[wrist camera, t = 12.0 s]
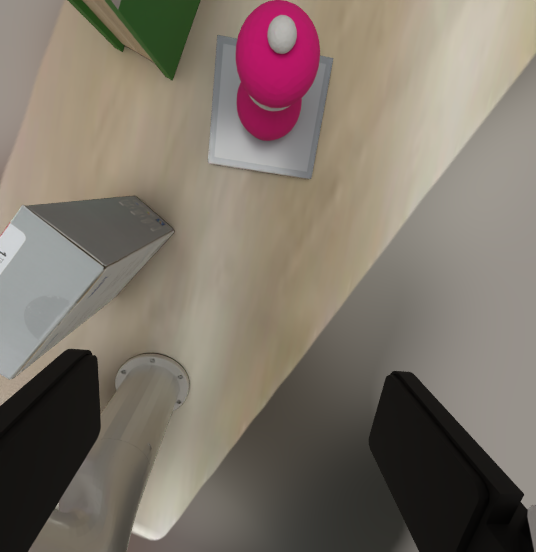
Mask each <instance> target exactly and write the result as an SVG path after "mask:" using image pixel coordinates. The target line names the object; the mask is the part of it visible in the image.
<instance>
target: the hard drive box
mask: <svg viewBox="0 0 536 552" xmlns="http://www.w3.org/2000/svg"><path fill="white" fill-rule="evenodd" d="M173 233H174V231H173V228H172V227H170V226H169V225H168V224H167V223H166V222H165V221H164V220H163V219H161V218H160V217H159V216H158V215H157V214H156V213H154V212H153V211H152V210H151V209H150V208H149V207H148V206H146V205H145V204H144V203H143V202H142V201H140V200H139V199H138V198H137V197H136V196H125V197H114V198H104V199H93V200H83V201H72V202H62V203H51V204H39V205H29V206H25V205H22V206H21V208H20V209H19V211H18V212H17V214H16V215H15V216H14V218H13V219H12V221H11V222H10V223H9V224H8V226H7V227H6V229H5V230H4V231H3V233H2V234H1V236H0V374H1V375H3V376H4V377H6V378H8V379H13V378H15V377H16V376H17V375H18V374H20V373H21V372H22V371H23V370H25V369H26V368H27V367H28V366H30V365H31V364H32V363H33V362H35V361H36V360H37V359H38V358H39V357H41V356H42V355H43V354H44V353H46V352H47V351H48V350H50V349H51V348H52V347H53V346H55V345H56V344H57V343H58V342H60V341H61V340H62V339H63V338H65V337H66V336H67V335H68V334H70V333H71V332H72V331H73V330H75V329H76V328H77V327H78V326H80V325H81V324H82V323H84V322H85V321H86V320H87V319H89V318H90V317H91V316H92V315H94V314H95V313H96V312H97V311H99V310H100V309H101V308H102V307H104V306H105V305H106V304H107V303H109V302H110V301H111V300H112V299H113V298H115V297H116V296H117V294H118V293H119V292H120V291H121V290H122V289H123V288H124V287H125V286H126V285H127V283H128V282H129V281H130V280H131V279H132V278H133V277H134V276H135V275H136V273H137V272H138V271H139V270H140V269H141V268H142V267H143V266H144V265H145V264H146V263H147V261H148V260H149V259H150V258H151V257H152V256H153V255H154V254H155V253H156V252H157V251H158V250H159V248H160V247H161V246H162V245H163V244H164V243H165V242H166V241H167V240H168V238H169V237H170V236H171V235H172V234H173Z"/></svg>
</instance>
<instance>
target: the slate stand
mask: <svg viewBox="0 0 536 552" xmlns="http://www.w3.org/2000/svg"><path fill="white" fill-rule="evenodd" d="M236 44H237V39H236V38H231V37H226V36H221V35H217V47H216V61H215V74H214V88H213V101H212V115H211V129H210V142H209V156H208V163H209V164H213V165H219V166H226V167H232V168H238V169H245V170H251V171H257V172H264V173H270V174H276V175H282V176H289V177H295V178H301V179H311V177H312V172H313V166H314V161H315V155H316V150H317V145H318V139H319V134H320V128H321V123H322V117H323V112H324V106H325V101H326V95H327V90H328V84H329V79H330V73H331V68H332V63H333V58H330V57H325V56H320V61H319V68H318V71H317V74H316V77H315V79H314V82H313V84H312V86H311V87H310V89H309V90H308V92H307V93H306V94H305V95H304V96H303V97H302V105H301V111H300V115H299V118H298V120H297V122H296V124H295V126H294V127H293V128H292V130H291V131H290V132H289V133H288V134H286V135H285V136H283V137H281V138H279V139H275V140H271V141H263V140H260V139H258V138H256V137H254V136H253V135H252V134H250V133H249V132H248V131H247V130H246V129H245V127H244V126H243V124H242V123H241V121H240V118H239V116H238V112H237V105H236V103H237V92H238V88H239V85H240V83H241V81H240V78H239V75H238V72H237V66H236Z"/></svg>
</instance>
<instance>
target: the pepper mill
mask: <svg viewBox="0 0 536 552" xmlns="http://www.w3.org/2000/svg"><path fill="white" fill-rule="evenodd" d="M319 61H320V46H319V39H318V35H317V32H316V29H315V27H314V24H313V22H312V21H311V19H310V18H309V17H308V15H307V14H306V13H305V12H304V11H303V10H302V9H301V8H300V7H298V6H297V5H295V4H293V3H290V2H288V1H283V0H274V1H268V2H266V3H264V4H262V5H260V6H259V7H257V8H256V9H255V10H254V11H253V12H252V13H251V14H250V15H249V16H248V17H247V19H246V20H245V22H244V24H243V26H242V27H241V30H240V33H239V35H238V39H237V44H236V66H237V72H238V75H239V78H240V81H241V83H240V85H239V88H238V92H237V103H236V105H237V112H238V116H239V118H240V121H241V123H242V124H243V126H244V127H245V129H246V130H247V131H248V132H249V133H250V134H252V135H253V136H254V137H256V138H258V139H260V140H263V141H271V140H275V139H279V138H281V137H283V136H285V135H286V134H288V133H289V132H290V131H291V130H292V128H293V127H294V126H295V124H296V122H297V120H298V118H299V115H300V111H301V105H302V97H303V96H304V95H305V94H306V93H307V92H308V90H309V89H310V87H311V86H312V84H313V82H314V79H315V77H316V74H317V71H318V68H319Z"/></svg>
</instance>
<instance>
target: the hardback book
mask: <svg viewBox="0 0 536 552" xmlns="http://www.w3.org/2000/svg"><path fill="white" fill-rule="evenodd" d="M68 1H69V2H70V3H71V4H72V5H73V6H74V7H75V8H76V9H77V10H78V11H79V12H80V13H81V14H82V15H83V16H84V17H85V18H86V19H87V20H88V21H89V22H90V23H91V24H92V25H93V26H94V27H95V28H96V29H97V30H98V31H99V32H100V33H101V34H102V35H103V36H104V37H105V38H106V39H107V40H108V41H109V42H110V43H111V44H112V45H113V46H114V47H115V48H116V49H118V50H120V51H122V52H123V50H124V46H127V47H129V48H130V49H132V50H134V51H136V52H137V53H139V54H141V55H143V56H144V57H146V58H148V59H150V60H151V61H153V62H154V63H155V64H156V65H157V66H158V68H159V69H160V70H161V71H162V73H163V74H164V75H165V76H166V77H167V78H169V79H171V80H173V78H174V75H175V72H176V69H177V66H178V63H179V60H180V57H181V55H182V52H183V49H184V46H185V43H186V40H187V37H188V34H189V32H190V29H191V26H192V23H193V20H194V17H195V14H196V11H197V9H198V6H199V3H200V0H68Z"/></svg>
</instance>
